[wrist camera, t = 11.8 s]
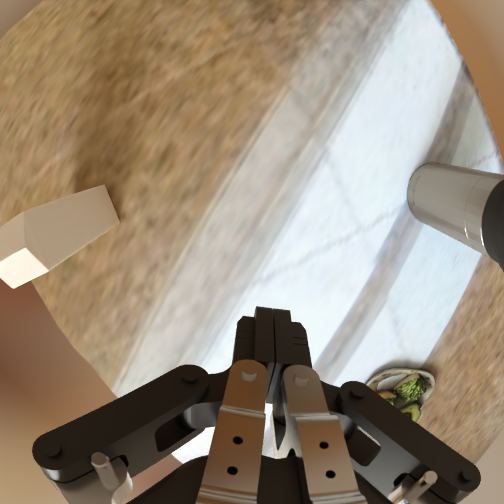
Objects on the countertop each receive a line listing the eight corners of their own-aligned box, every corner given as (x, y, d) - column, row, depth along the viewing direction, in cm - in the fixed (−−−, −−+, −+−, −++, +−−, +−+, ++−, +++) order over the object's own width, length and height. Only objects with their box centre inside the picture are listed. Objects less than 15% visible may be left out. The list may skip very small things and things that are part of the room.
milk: (120, 222, 43) (32, 286, 22) (88, 237, 43) (-5, 304, 22) (104, 183, 41) (2, 218, 20) (72, 200, 41) (-32, 245, 20)
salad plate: (320, 424, 56) (324, 441, 51) (364, 355, 50) (372, 371, 46) (396, 430, 58) (403, 445, 53) (441, 369, 53) (451, 383, 48)
